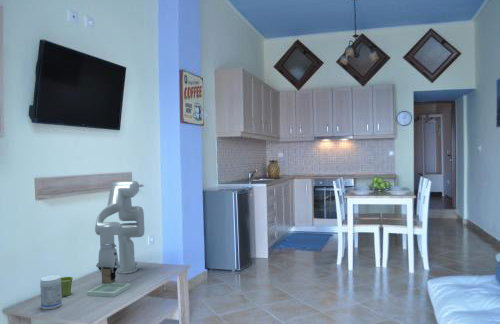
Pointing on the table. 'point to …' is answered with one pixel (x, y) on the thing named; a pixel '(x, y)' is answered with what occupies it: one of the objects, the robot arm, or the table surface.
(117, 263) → the robot arm
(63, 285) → the plant pot
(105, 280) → the walnut block
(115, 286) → the sage tray
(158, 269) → the table surface
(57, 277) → the supplement tub
